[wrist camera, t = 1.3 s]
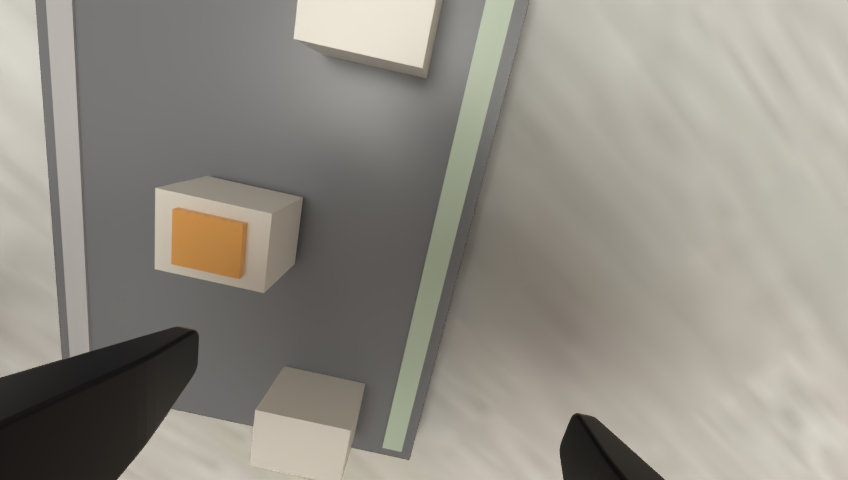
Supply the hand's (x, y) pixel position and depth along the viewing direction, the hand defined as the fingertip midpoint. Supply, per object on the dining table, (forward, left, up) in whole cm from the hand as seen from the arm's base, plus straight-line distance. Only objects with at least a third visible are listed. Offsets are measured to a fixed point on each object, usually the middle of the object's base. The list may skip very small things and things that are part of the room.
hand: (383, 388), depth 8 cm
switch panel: (-7, 0, -11) cm, 13 cm away
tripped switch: (-7, 0, -9) cm, 11 cm away
